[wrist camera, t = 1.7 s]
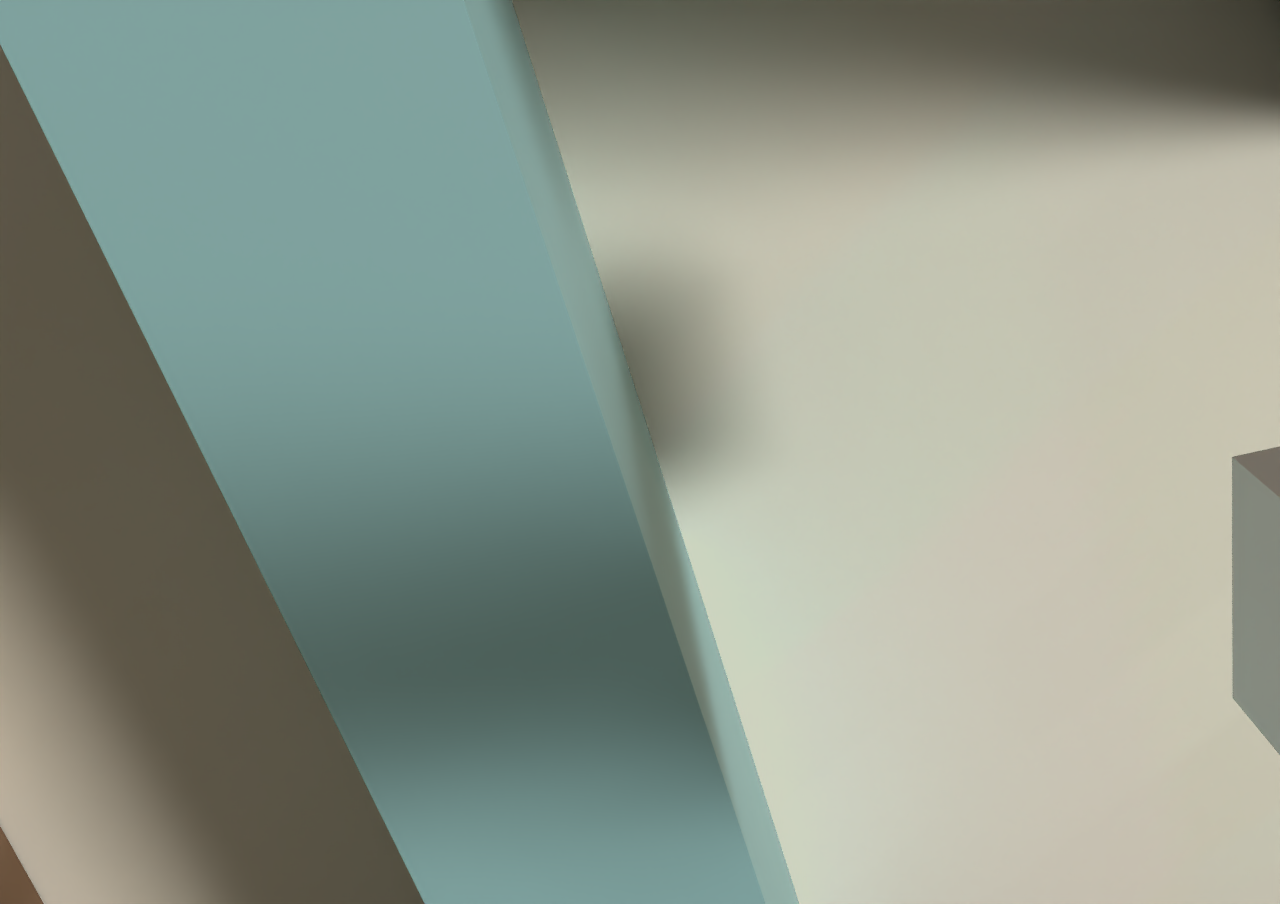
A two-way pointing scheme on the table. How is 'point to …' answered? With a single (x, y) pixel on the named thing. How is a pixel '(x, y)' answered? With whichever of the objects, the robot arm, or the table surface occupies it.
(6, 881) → the frame
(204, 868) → the table surface
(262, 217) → the slat
